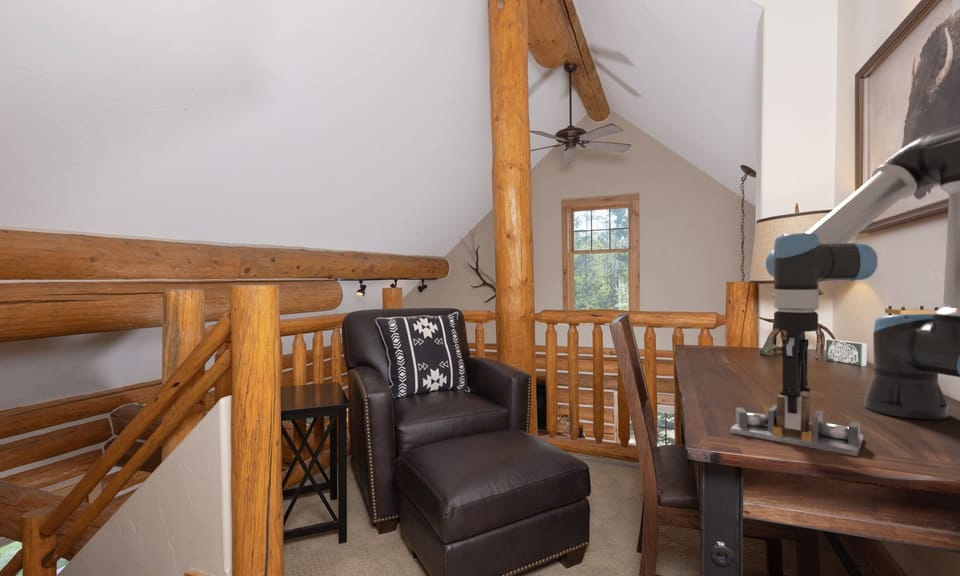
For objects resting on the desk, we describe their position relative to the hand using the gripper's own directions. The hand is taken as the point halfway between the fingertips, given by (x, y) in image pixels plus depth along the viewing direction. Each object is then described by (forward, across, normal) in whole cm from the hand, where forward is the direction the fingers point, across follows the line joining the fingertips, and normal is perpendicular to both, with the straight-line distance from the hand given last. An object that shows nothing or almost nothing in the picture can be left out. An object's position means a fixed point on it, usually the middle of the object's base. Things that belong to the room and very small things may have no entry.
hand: (795, 425), depth 101 cm
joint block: (+1, 0, 0) cm, 1 cm away
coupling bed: (+2, 0, 0) cm, 2 cm away
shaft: (+1, +1, -7) cm, 8 cm away
